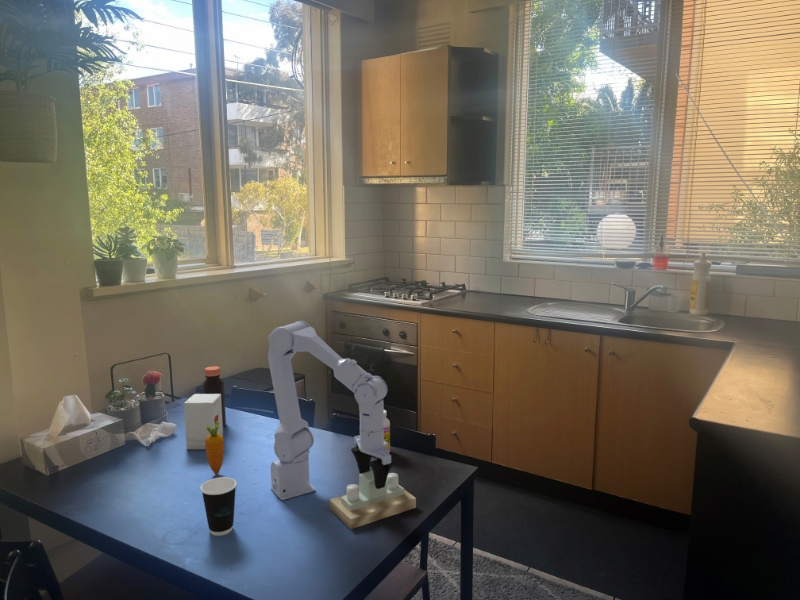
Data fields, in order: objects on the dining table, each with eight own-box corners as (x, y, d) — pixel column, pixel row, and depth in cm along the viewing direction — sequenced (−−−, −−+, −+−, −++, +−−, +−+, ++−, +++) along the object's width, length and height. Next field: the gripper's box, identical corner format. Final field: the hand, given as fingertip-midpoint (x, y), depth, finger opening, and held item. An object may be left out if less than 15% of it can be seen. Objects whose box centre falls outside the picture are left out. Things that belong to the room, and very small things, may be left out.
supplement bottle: (380, 459, 173) (380, 417, 171) (363, 453, 177) (362, 412, 175) (394, 451, 179) (394, 410, 176) (377, 446, 182) (377, 406, 180)
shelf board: (350, 529, 136) (350, 519, 136) (329, 508, 145) (329, 499, 145) (415, 507, 146) (415, 498, 145) (392, 489, 155) (392, 480, 154)
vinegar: (201, 428, 197) (197, 370, 194) (211, 421, 204) (207, 364, 201) (220, 429, 196) (217, 371, 193) (229, 422, 203) (226, 365, 200)
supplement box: (215, 450, 180) (212, 402, 178) (185, 450, 180) (182, 402, 178) (224, 438, 189) (221, 393, 187) (196, 438, 189) (193, 393, 187)
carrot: (208, 480, 161) (205, 427, 158) (205, 472, 165) (202, 421, 163) (227, 476, 163) (224, 424, 161) (224, 469, 167) (221, 418, 165)
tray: (350, 511, 139) (350, 487, 138) (341, 502, 143) (340, 479, 142) (404, 494, 147) (404, 471, 146) (393, 486, 151) (393, 464, 150)
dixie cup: (224, 542, 131) (221, 496, 129) (195, 535, 134) (192, 489, 132) (246, 524, 138) (244, 480, 137) (218, 518, 141) (215, 474, 139)
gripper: (402, 434, 138) (402, 489, 140) (371, 415, 150) (371, 466, 152) (376, 441, 134) (376, 496, 137) (346, 421, 146) (347, 473, 149)
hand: (372, 481), depth 144 cm, fingers open, 7 cm apart
